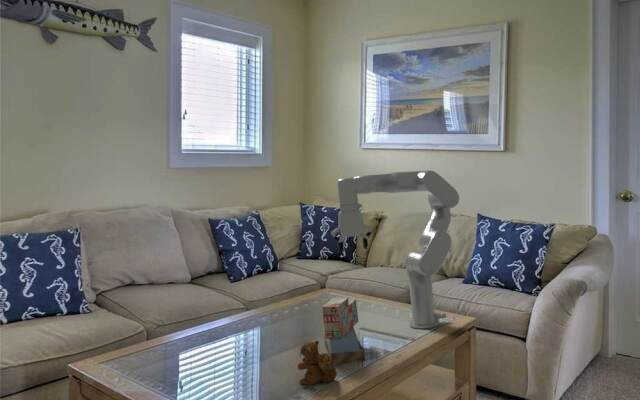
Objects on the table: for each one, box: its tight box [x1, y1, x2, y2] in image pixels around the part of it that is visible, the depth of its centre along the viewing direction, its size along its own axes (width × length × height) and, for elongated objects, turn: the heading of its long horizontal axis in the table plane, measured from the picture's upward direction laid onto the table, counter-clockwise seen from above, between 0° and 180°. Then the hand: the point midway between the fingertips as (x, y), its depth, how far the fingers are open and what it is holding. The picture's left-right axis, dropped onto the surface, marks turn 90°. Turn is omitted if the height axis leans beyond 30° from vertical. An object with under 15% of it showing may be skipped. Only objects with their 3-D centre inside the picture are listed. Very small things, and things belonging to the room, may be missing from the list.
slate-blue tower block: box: [329, 326, 359, 354], centre depth 218 cm, size 10×23×4 cm, turn 2°
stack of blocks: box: [321, 297, 359, 339], centre depth 219 cm, size 21×6×12 cm, turn 159°
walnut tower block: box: [323, 334, 366, 366], centre depth 218 cm, size 12×25×4 cm, turn 5°
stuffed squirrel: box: [297, 340, 339, 386], centre depth 191 cm, size 10×14×13 cm
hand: (353, 250), depth 232 cm, fingers open, 9 cm apart
